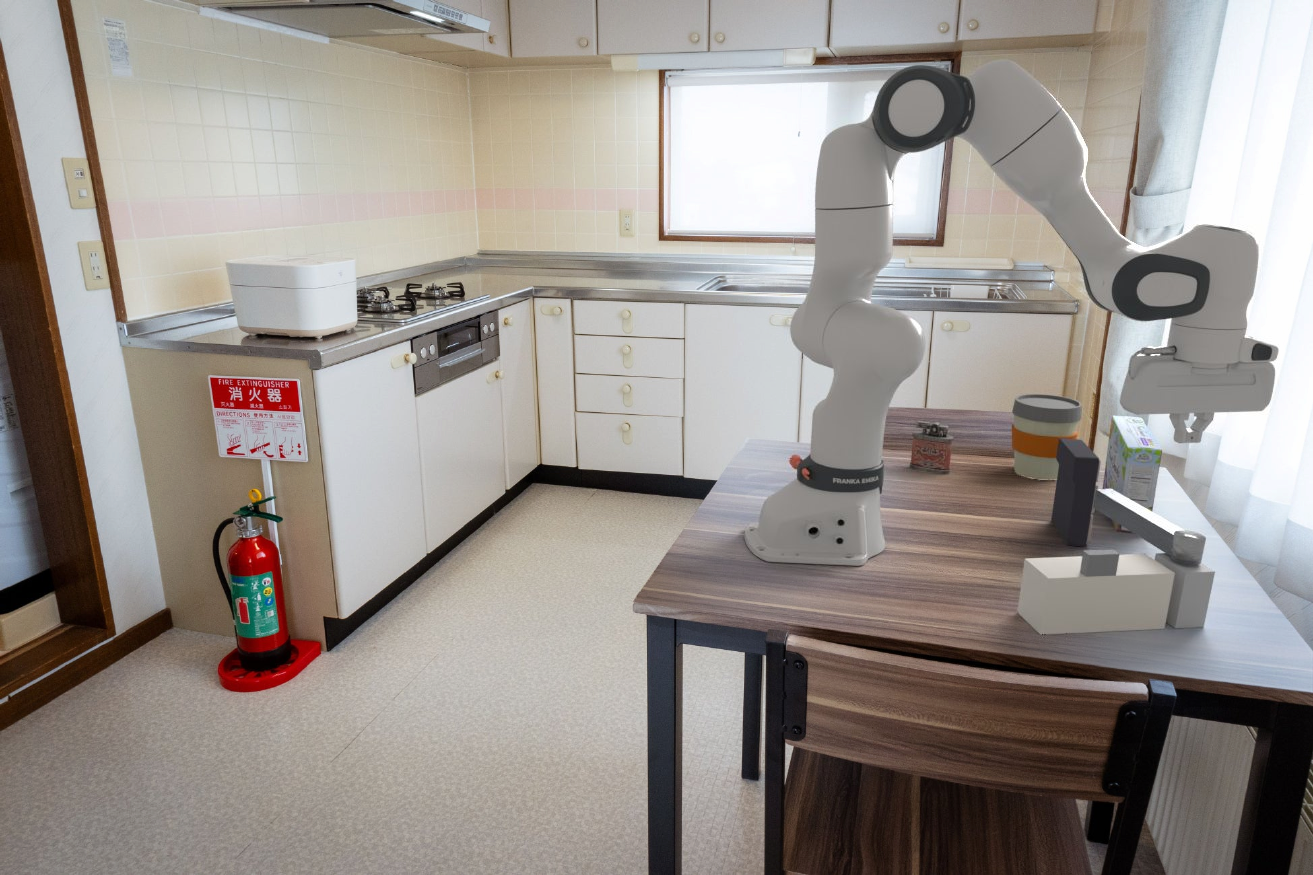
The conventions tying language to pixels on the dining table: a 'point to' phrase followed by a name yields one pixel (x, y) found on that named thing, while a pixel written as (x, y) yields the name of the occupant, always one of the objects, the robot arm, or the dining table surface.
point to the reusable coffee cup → (1042, 432)
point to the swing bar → (1151, 527)
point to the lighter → (931, 448)
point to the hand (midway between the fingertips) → (1186, 442)
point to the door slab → (1095, 593)
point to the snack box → (1132, 462)
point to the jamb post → (1187, 592)
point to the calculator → (1075, 491)
